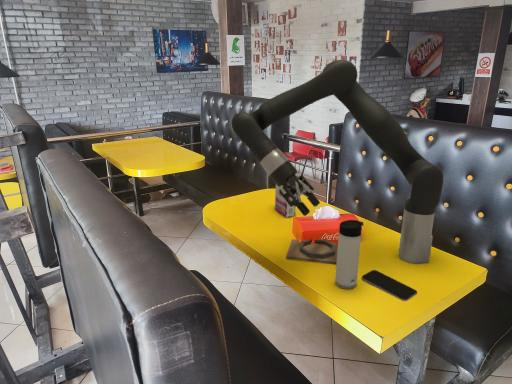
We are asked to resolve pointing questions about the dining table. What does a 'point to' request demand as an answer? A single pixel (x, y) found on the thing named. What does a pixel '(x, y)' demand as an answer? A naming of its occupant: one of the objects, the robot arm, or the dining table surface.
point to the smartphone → (389, 285)
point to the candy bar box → (283, 204)
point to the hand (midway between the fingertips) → (312, 209)
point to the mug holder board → (313, 251)
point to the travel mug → (348, 253)
